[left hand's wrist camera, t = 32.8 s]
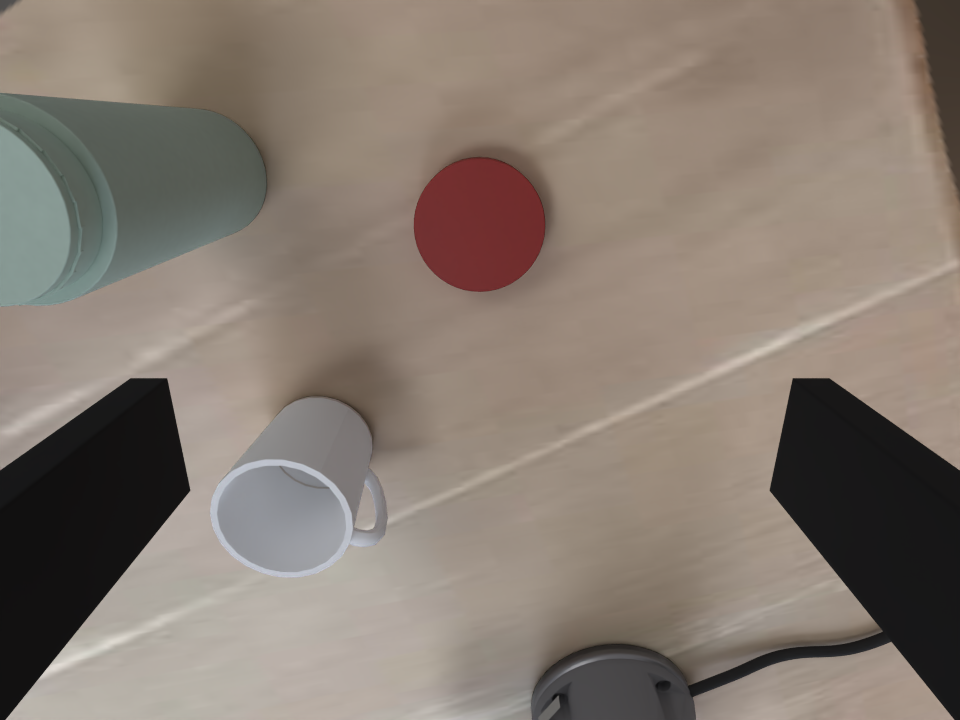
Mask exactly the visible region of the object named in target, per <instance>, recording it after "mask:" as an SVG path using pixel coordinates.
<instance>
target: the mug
mask: <svg viewBox="0 0 960 720" xmlns="http://www.w3.org/2000/svg"><path fill="white" fill-rule="evenodd" d="M372 450H373V443H372V435H371V433H370V430H369V427H368V425H367V424H366V422H365V421H364V419H363V418H362V417H361V415H360V414H359V413H358V412H356V411H355V410H354V409H353V408H352V407H350V406H349V405H347V404H345V403H343V402H341V401H339V400H336V399H332V398H328V397H324V396H310V397H306V398H302V399H298V400H296V401H294V402H292V403H290V404H288V405H287V406H285V407H284V408H283V409H282V410H281V411H280V412H279V413H278V414H277V416H276V417H275V418H274V419H273V420H272V422H271V423H270V424H269V425H268V426H267V427H266V429H265V430H264V431H263V432H262V433H261V435H260V436H259V437H258V438H257V439H256V440H255V442H254V443H253V444H252V445H251V446H250V447H249V449H248V450H247V451H246V452H245V453H244V454H243V456H242V457H241V458H240V459H239V460H238V461H237V463H236V464H235V465H234V466H233V467H232V468H231V470H230V471H229V472H228V473H227V474H226V476H225V477H224V478H223V479H222V480H221V481H220V483H219V485H218V487H217V489H216V491H215V493H214V495H213V497H212V502H211V509H210V515H211V521H212V526H213V529H214V531H215V533H216V535H217V537H218V539H219V541H220V543H221V544H222V545H223V546H224V548H225V549H226V550H227V551H228V552H229V553H230V554H231V555H232V556H233V557H234V558H236V559H237V560H238V561H240V562H241V563H243V564H244V565H245V566H247V567H249V568H252V569H254V570H256V571H259V572H261V573H263V574H268V575H273V576H277V577H302V576H307V575H312V574H316V573H318V572H320V571H322V570H324V569H326V568H328V567H330V566H331V565H332V564H334V563H335V562H336V561H337V560H338V559H339V558H340V557H341V556H342V555H343V553H344V552H345V550H346V548H347V547H348V545H349V544H351V545H353V546H360V547H367V546H372V545H376V544H377V543H378V541H379V540H380V539H381V538H382V537H383V536H384V535H385V530H386V524H387V519H388V516H387V504H386V500H385V496H384V492H383V488H382V486H381V484H380V482H379V480H378V477H377V476H376V475H375V473H374V472H373V471H372V470H371V469H369V468H368V467H369V463H370V459H371V455H372ZM364 483H365V484H366V485H367V487H368V488H369V489H370V492H371V494H372V497H373V500H374V506H375V517H376V522H375V527H374V528H373V529H371V530H359V529H357V528H354V524H355V520H356V516H357V512H358V508H359V504H360V500H361V496H362V491H363V487H364Z"/></svg>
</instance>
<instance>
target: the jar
mask: <svg viewBox="0 0 960 720" xmlns="http://www.w3.org/2000/svg"><path fill="white" fill-rule="evenodd" d="M266 187H267V181H266V171H265V167H264V163H263V160H262V157H261V155H260V153H259V151H258V149H257V147H256V145H255V144H254V142H253V141H252V139H251V138H250V137H249V136H248V134H247V133H246V132H245V131H244V130H243V129H242V128H241V127H239V126H238V125H237V124H236V123H234V122H233V121H232V120H230V119H228V118H227V117H225V116H223V115H221V114H218V113H216V112H213V111H209V110H204V109H194V108H181V107H169V106H157V105H144V104H132V103H119V102H107V101H94V100H82V99H70V98H57V97H45V96H32V95H20V94H8V93H0V306H12V305H19V306H20V305H24V304H25V305H35V306H40V305H54V304H60V303H64V302H67V301H70V300H73V299H75V298H78V297H80V296H83V295H85V294H87V293H90V292H92V291H95V290H97V289H100V288H102V287H104V286H107V285H109V284H112V283H114V282H117V281H119V280H121V279H124V278H126V277H129V276H131V275H134V274H136V273H138V272H141V271H143V270H146V269H148V268H150V267H153V266H155V265H158V264H160V263H163V262H165V261H167V260H170V259H172V258H175V257H177V256H180V255H182V254H184V253H187V252H189V251H192V250H194V249H197V248H199V247H201V246H204V245H206V244H209V243H211V242H214V241H216V240H218V239H221V238H223V237H226V236H228V235H230V234H233V233H235V232H237V231H239V230H241V229H243V228H244V227H246V226H247V225H248V224H250V223H251V222H252V221H253V220H254V218H255V217H256V216H257V214H258V213H259V211H260V209H261V207H262V205H263V202H264V199H265V195H266Z"/></svg>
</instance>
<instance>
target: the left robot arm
mask: <svg viewBox="0 0 960 720" xmlns="http://www.w3.org/2000/svg"><path fill="white" fill-rule="evenodd" d="M189 492H190V486H189V482H188V477H187V472H186V467H185V462H184V457H183V453H182V448H181V443H180V438H179V433H178V428H177V424H176V419H175V414H174V409H173V404H172V399H171V395H170V390H169V385H168V380H167V378H130V379H129V380H128V381H126V382H125V383H123V384H122V385H121V386H119V387H118V388H116V389H115V390H114V391H112V392H111V393H109V394H108V395H106V396H105V397H104V398H102V399H101V400H99V401H98V402H97V403H95V404H94V405H92V406H91V407H89V408H88V409H87V410H85V411H84V412H82V413H81V414H80V415H78V416H77V417H75V418H74V419H72V420H71V421H70V422H68V423H67V424H65V425H64V426H63V427H61V428H60V429H58V430H57V431H55V432H54V433H53V434H51V435H50V436H48V437H47V438H46V439H44V440H43V441H41V442H40V443H39V444H37V445H36V446H34V447H33V448H31V449H30V450H29V451H27V452H26V453H24V454H23V455H22V456H20V457H19V458H17V459H16V460H14V461H13V462H12V463H10V464H9V465H7V466H6V467H5V468H3V469H2V470H0V720H6V718H7V717H8V716H9V715H10V713H11V712H12V711H13V710H14V708H15V707H16V706H17V705H18V704H19V702H20V701H21V700H22V699H23V697H24V696H25V695H26V694H27V692H28V691H29V690H30V689H31V687H32V686H33V685H34V684H35V682H36V681H37V680H38V679H39V678H40V676H41V675H42V674H43V673H44V671H45V670H46V669H47V668H48V666H49V665H50V664H51V663H52V661H53V660H54V659H55V658H56V656H57V655H58V654H59V653H60V651H61V650H62V649H63V648H64V647H65V645H66V644H67V643H68V642H69V640H70V639H71V638H72V637H73V635H74V634H75V633H76V632H77V630H78V629H79V628H80V627H81V625H82V624H83V623H84V622H85V620H86V619H87V618H88V617H89V616H90V614H91V613H92V612H93V611H94V609H95V608H96V607H97V606H98V604H99V603H100V602H101V601H102V599H103V598H104V597H105V596H106V594H107V593H108V592H109V591H110V590H111V588H112V587H113V586H114V585H115V583H116V582H117V581H118V580H119V578H120V577H121V576H122V575H123V573H124V572H125V571H126V570H127V568H128V567H129V566H130V565H131V563H132V562H133V561H134V560H135V559H136V557H137V556H138V555H139V554H140V552H141V551H142V550H143V549H144V547H145V546H146V545H147V544H148V542H149V541H150V540H151V539H152V537H153V536H154V535H155V534H156V532H157V531H158V530H159V529H160V528H161V526H162V525H163V524H164V523H165V521H166V520H167V519H168V518H169V516H170V515H171V514H172V513H173V511H174V510H175V509H176V508H177V506H178V505H179V504H180V503H181V502H182V500H183V499H184V498H185V497H186V495H187V494H188V493H189ZM770 492H771V493H772V494H773V495H774V497H775V498H776V499H777V500H778V502H779V503H780V504H781V505H782V506H783V508H784V509H785V510H786V511H787V513H788V514H789V515H790V516H791V518H792V519H793V520H794V521H795V523H796V524H797V525H798V526H799V528H800V529H801V530H802V531H803V532H804V534H805V535H806V536H807V537H808V539H809V540H810V541H811V542H812V544H813V545H814V546H815V547H816V549H817V550H818V551H819V552H820V554H821V555H822V556H823V557H824V559H825V560H826V561H827V562H828V563H829V565H830V566H831V567H832V568H833V570H834V571H835V572H836V573H837V575H838V576H839V577H840V578H841V580H842V581H843V582H844V583H845V585H846V586H847V587H848V588H849V590H850V591H851V592H852V593H853V594H854V596H855V597H856V598H857V599H858V601H859V602H860V603H861V604H862V606H863V607H864V608H865V609H866V611H867V612H868V613H869V614H870V616H871V617H872V618H873V619H874V620H875V622H876V623H877V624H878V625H879V627H880V628H881V629H882V630H883V632H881V633H879V634H876V635H874V636H871V637H868V638H865V639H862V640H859V641H855V642H851V643H847V644H841V645H832V646H810V647H795V648H788V649H783V650H778V651H775V652H771V653H768V654H765V655H762V656H760V657H757V658H755V659H753V660H751V661H749V662H746V663H744V664H742V665H740V666H738V667H735V668H733V669H731V670H728V671H726V672H723V673H720V674H718V675H715V676H713V677H710V678H708V679H705V680H702V681H700V682H697V683H695V684H692V685H689V686H688V684H687V682H686V679H685V677H684V676H683V674H682V673H681V671H680V670H679V669H678V668H677V667H676V666H675V665H674V664H673V663H672V662H671V661H670V660H668V659H667V658H665V657H664V656H662V655H660V654H658V653H656V652H654V651H651V650H648V649H645V648H641V647H637V646H631V645H602V646H596V647H592V648H587V649H584V650H581V651H578V652H576V653H573V654H571V655H569V656H567V657H565V658H564V659H562V660H560V661H559V662H557V663H556V664H555V665H553V666H552V667H551V668H550V669H549V670H548V671H547V672H546V673H545V674H544V675H543V676H542V678H541V679H540V680H539V682H538V684H537V685H536V688H535V690H534V693H533V696H532V702H531V711H532V720H696V713H695V706H694V701H693V697H694V696H696V695H699V694H701V693H704V692H707V691H709V690H712V689H714V688H717V687H720V686H722V685H725V684H727V683H730V682H732V681H735V680H737V679H740V678H742V677H745V676H747V675H749V674H751V673H753V672H755V671H758V670H760V669H762V668H764V667H767V666H769V665H772V664H775V663H779V662H782V661H787V660H792V659H799V658H812V657H836V656H845V655H851V654H856V653H860V652H864V651H867V650H870V649H873V648H876V647H879V646H882V645H884V644H887V643H889V642H892V643H893V644H894V645H895V647H896V648H897V649H898V650H899V651H900V653H901V654H902V655H903V656H904V658H905V659H906V660H907V661H908V663H909V664H910V665H911V666H912V668H913V669H914V670H915V671H916V673H917V674H918V675H919V676H920V678H921V679H922V680H923V681H924V682H925V684H926V685H927V686H928V687H929V689H930V690H931V691H932V692H933V694H934V695H935V696H936V697H937V699H938V700H939V701H940V702H941V704H942V705H943V706H944V707H945V708H946V710H947V711H948V712H949V713H950V715H951V716H952V717H953V718H954V720H960V470H958V469H957V468H955V467H954V466H953V465H951V464H950V463H948V462H947V461H946V460H944V459H943V458H941V457H940V456H938V455H937V454H936V453H934V452H933V451H931V450H930V449H929V448H927V447H926V446H924V445H923V444H921V443H920V442H919V441H917V440H916V439H914V438H913V437H912V436H910V435H909V434H907V433H906V432H905V431H903V430H902V429H900V428H899V427H897V426H896V425H895V424H893V423H892V422H890V421H889V420H888V419H886V418H885V417H883V416H882V415H880V414H879V413H878V412H876V411H875V410H873V409H872V408H871V407H869V406H868V405H866V404H865V403H863V402H862V401H861V400H859V399H858V398H856V397H855V396H854V395H852V394H851V393H849V392H848V391H846V390H845V389H844V388H842V387H841V386H839V385H838V384H837V383H835V382H834V381H832V380H831V379H830V378H793V380H792V385H791V390H790V395H789V399H788V404H787V409H786V414H785V419H784V424H783V428H782V433H781V438H780V443H779V448H778V453H777V457H776V462H775V467H774V472H773V477H772V482H771V486H770Z"/></svg>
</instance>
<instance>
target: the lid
mask: <svg viewBox="0 0 960 720" xmlns="http://www.w3.org/2000/svg"><path fill="white" fill-rule="evenodd" d="M414 233H415V239H416V243H417V247H418V249H419V252H420V254H421V256H422V258H423V260H424V261H425V263H426V264H427V266H428V267H429V268H430V269H431V270H432V271H433V272H434V274H436V275H437V276H438V277H439V278H440V279H442V280H443V281H445V282H446V283H448V284H450V285H452V286H454V287H457V288H460V289H463V290H468V291H477V292H483V291H491V290H496V289H499V288H502V287H505V286H507V285H509V284H511V283H513V282H514V281H516V280H517V279H519V278H520V277H521V276H522V275H523V274H525V273H526V271H527V270H528V269H529V268H530V267H531V266H532V264H533V263H534V261H535V260H536V258H537V256H538V254H539V252H540V249H541V247H542V244H543V239H544V234H545V216H544V210H543V207H542V203H541V201H540V198H539V196H538V194H537V192H536V191H535V189H534V187H533V186H532V185H531V183H530V182H529V181H528V180H527V179H526V178H525V177H524V176H523V175H522V174H521V173H520V172H519V171H518V170H516V169H515V168H514V167H512V166H510V165H509V164H507V163H505V162H502V161H499V160H496V159H492V158H486V157H474V158H467V159H463V160H460V161H457V162H454V163H452V164H451V165H449V166H447V167H445V168H444V169H443V170H441V171H440V172H439V173H438V174H437V175H436V176H435V177H434V178H433V179H432V180H431V181H430V182H429V183H428V185H427V186H426V187H425V189H424V191H423V192H422V194H421V196H420V198H419V201H418V203H417V207H416V210H415V217H414Z"/></svg>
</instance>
